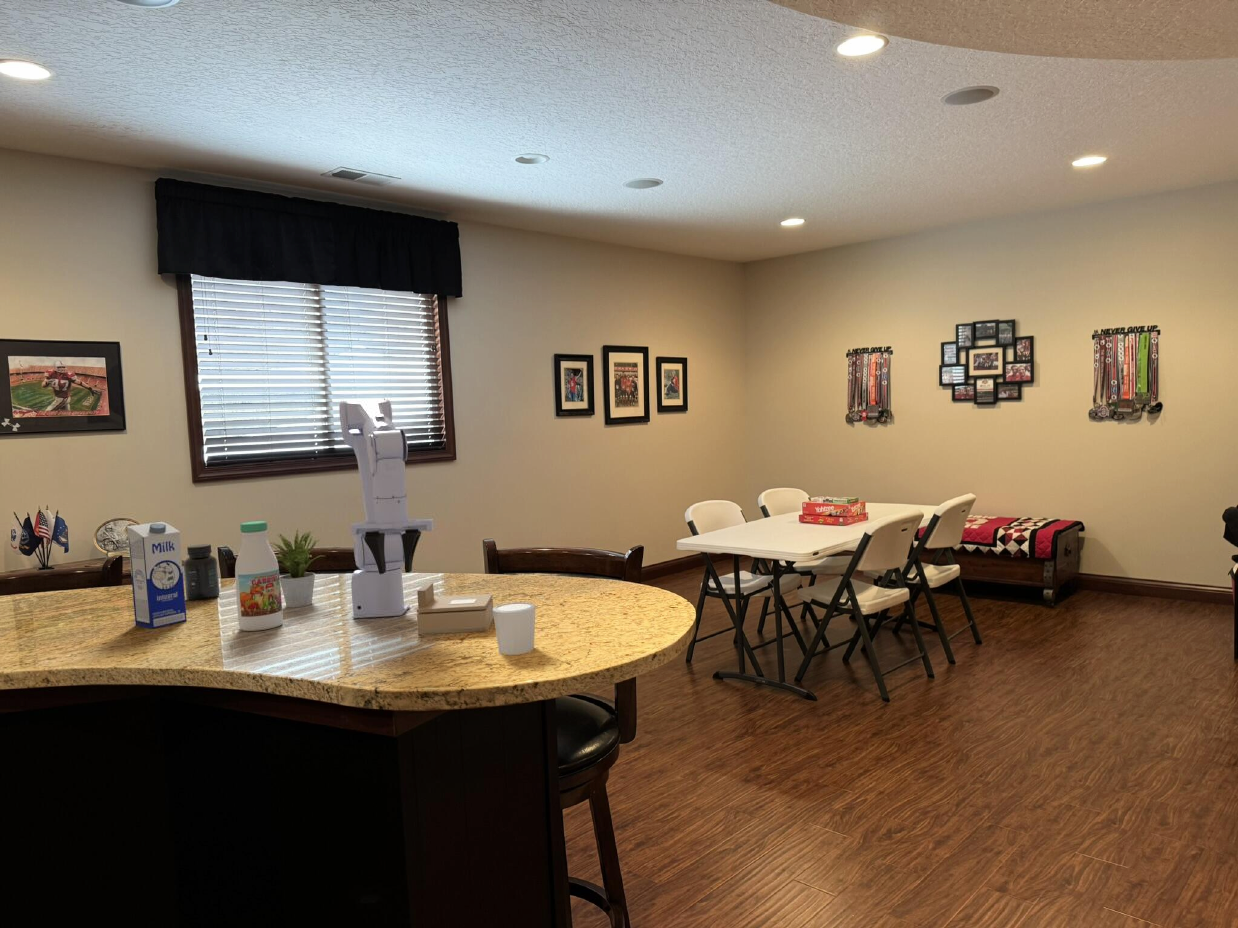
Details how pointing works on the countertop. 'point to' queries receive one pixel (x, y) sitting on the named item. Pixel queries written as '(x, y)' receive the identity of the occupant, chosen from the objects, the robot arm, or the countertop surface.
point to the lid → (449, 601)
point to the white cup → (515, 627)
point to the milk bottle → (257, 580)
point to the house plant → (297, 570)
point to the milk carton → (156, 575)
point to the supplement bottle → (201, 573)
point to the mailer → (455, 621)
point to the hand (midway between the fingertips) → (395, 572)
